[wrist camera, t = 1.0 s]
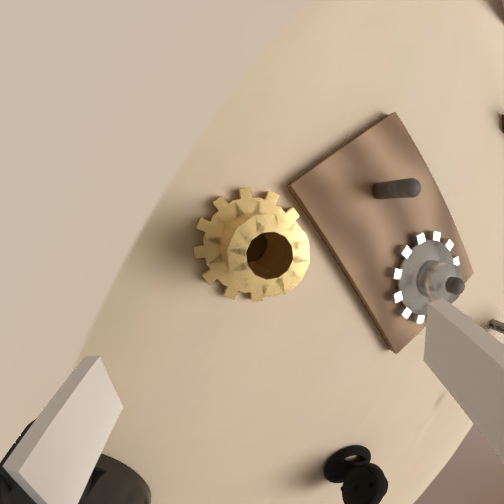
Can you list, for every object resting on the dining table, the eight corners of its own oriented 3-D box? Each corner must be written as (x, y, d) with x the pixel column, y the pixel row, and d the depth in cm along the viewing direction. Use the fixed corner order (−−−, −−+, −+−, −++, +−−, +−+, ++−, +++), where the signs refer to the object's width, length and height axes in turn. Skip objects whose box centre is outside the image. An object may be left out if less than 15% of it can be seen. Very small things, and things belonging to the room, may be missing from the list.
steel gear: (409, 337, 35) (433, 351, 30) (373, 269, 33) (398, 278, 28) (462, 281, 36) (488, 288, 31) (433, 213, 34) (461, 214, 29)
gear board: (390, 349, 36) (429, 376, 28) (286, 186, 32) (316, 177, 24) (466, 271, 38) (509, 281, 29) (388, 114, 33) (432, 95, 25)
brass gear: (238, 319, 33) (253, 355, 24) (171, 233, 31) (161, 240, 22) (321, 254, 33) (363, 268, 25) (261, 167, 31) (286, 150, 22)
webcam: (352, 479, 39) (378, 520, 29) (313, 478, 37) (337, 525, 28) (377, 444, 39) (410, 483, 29) (338, 441, 37) (370, 487, 27)
